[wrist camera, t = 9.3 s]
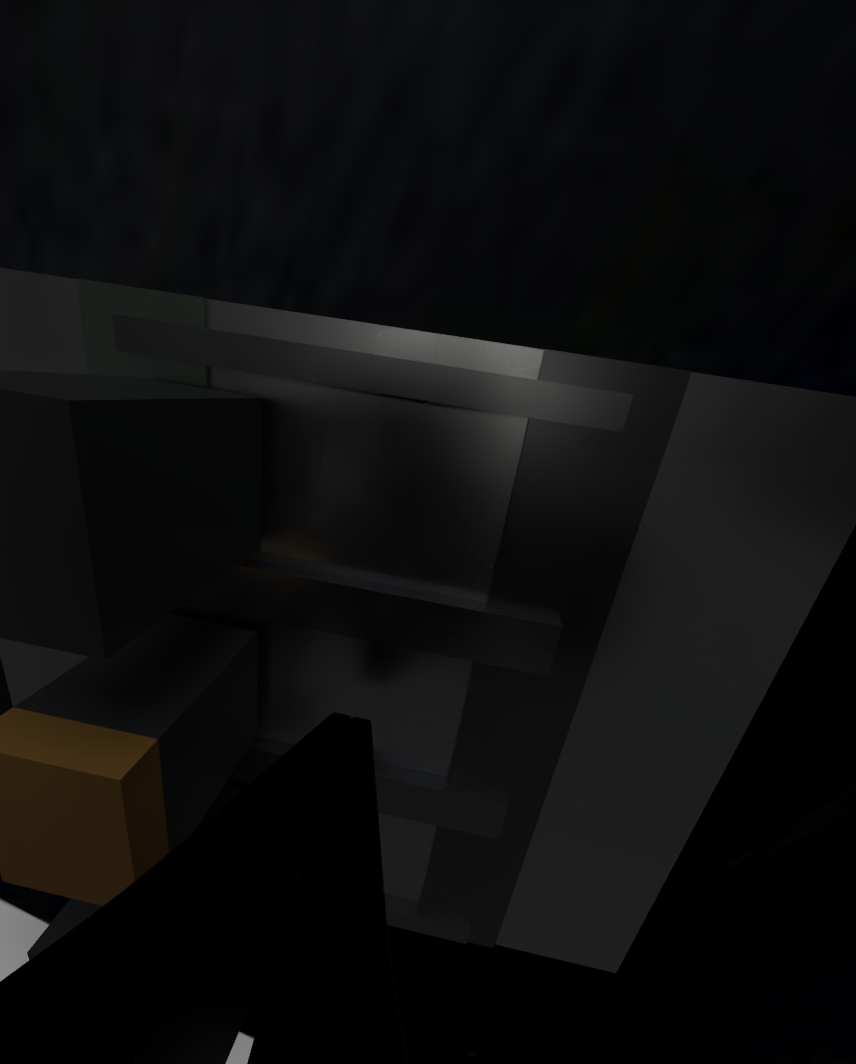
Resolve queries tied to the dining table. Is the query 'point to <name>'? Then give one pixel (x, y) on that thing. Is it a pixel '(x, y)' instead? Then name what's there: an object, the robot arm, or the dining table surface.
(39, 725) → the handle
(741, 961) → the dining table surface
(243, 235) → the dining table surface
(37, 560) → the handle
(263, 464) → the panel
